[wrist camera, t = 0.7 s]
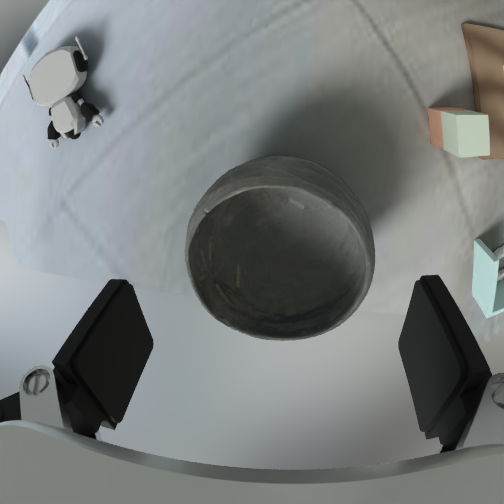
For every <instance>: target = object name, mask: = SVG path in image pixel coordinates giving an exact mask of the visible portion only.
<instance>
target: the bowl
mask: <svg viewBox="0 0 504 504" xmlns="http://www.w3.org/2000/svg"><path fill="white" fill-rule="evenodd" d="M185 261H186V266H187V270H188V275H189V278H190V282H191V285H192V287H193V289H194V291H195V294H196V296H197V297H198V299H199V301H200V302H201V304H202V305H203V306H204V308H205V309H206V310H207V311H208V312H209V313H210V314H211V315H212V316H213V317H214V318H215V319H217V320H218V321H220V322H222V323H223V324H225V325H227V326H228V327H230V328H232V329H234V330H238V331H239V332H241V333H244V334H246V335H249V336H252V337H255V338H260V339H266V340H282V341H283V340H300V339H306V338H311V337H315V336H318V335H321V334H324V333H326V332H328V331H330V330H332V329H334V328H336V327H338V326H339V325H341V324H342V323H343V322H345V321H346V320H347V319H348V318H349V317H350V316H351V315H352V314H353V313H354V312H355V311H356V310H357V309H358V307H359V306H360V304H361V303H362V301H363V300H364V298H365V296H366V294H367V292H368V290H369V288H370V285H371V282H372V278H373V273H374V267H375V248H374V240H373V234H372V229H371V226H370V222H369V220H368V217H367V215H366V213H365V211H364V209H363V207H362V205H361V204H360V202H359V200H358V199H357V198H356V196H355V195H354V194H353V192H352V191H351V190H350V189H349V187H348V186H347V185H346V184H345V183H344V182H343V181H342V180H341V179H339V178H338V177H337V176H336V175H335V174H333V173H332V172H331V171H329V170H328V169H326V168H324V167H323V166H321V165H319V164H317V163H314V162H312V161H309V160H306V159H302V158H298V157H292V156H269V157H263V158H259V159H255V160H252V161H248V162H246V163H244V164H241V165H239V166H237V167H235V168H233V169H231V170H229V171H228V172H226V173H225V174H224V175H222V176H221V177H220V178H219V179H218V180H217V181H216V182H215V183H214V184H213V185H212V186H211V187H210V188H209V189H208V190H207V192H206V193H205V194H204V196H203V197H202V198H201V200H200V201H199V202H198V204H197V205H196V207H195V209H194V212H193V214H192V216H191V218H190V221H189V225H188V229H187V237H186V245H185Z"/></svg>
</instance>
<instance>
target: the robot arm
mask: <svg viewBox="0 0 504 504" xmlns="http://www.w3.org/2000/svg"><path fill="white" fill-rule="evenodd" d="M152 349H153V338H152V336H151V333H150V331H149V328H148V326H147V323H146V321H145V318H144V315H143V313H142V310H141V307H140V305H139V302H138V300H137V297H136V294H135V291H134V288H133V286H132V285H131V284H129V282H128V281H127V280H123V279H112V280H110V281H109V282H108V283H107V284H106V286H105V287H104V288H103V289H102V291H101V292H100V293H99V295H98V296H97V298H96V299H95V300H94V302H93V303H92V304H91V306H90V307H89V308H88V310H87V311H86V313H85V314H84V316H83V317H82V318H81V320H80V321H79V323H78V324H77V325H76V327H75V328H74V330H73V331H72V333H71V334H70V335H69V337H68V339H67V340H66V341H65V343H64V344H63V346H62V347H61V349H60V350H59V352H58V353H57V355H56V356H55V358H54V360H53V361H52V363H53V365H54V366H55V368H54V370H52V369H51V368H50V367H48V366H43V365H40V366H36V367H34V368H32V369H30V370H29V371H28V372H27V373H26V374H25V375H24V376H23V378H22V380H21V382H20V391H19V392H17V393H15V394H13V395H11V396H8V397H6V398H4V399H2V400H0V504H504V373H498V374H495V375H493V376H492V373H491V371H490V368H489V366H488V364H487V362H486V359H485V357H484V355H483V353H482V351H481V349H480V348H479V345H478V343H477V341H476V339H475V337H474V335H473V333H472V331H471V330H470V328H469V326H468V324H467V322H466V320H465V319H464V317H463V315H462V313H461V311H460V310H459V308H458V306H457V304H456V303H455V301H454V299H453V297H452V296H451V294H450V292H449V291H448V289H447V287H446V286H445V284H444V283H443V281H442V279H441V278H440V276H439V275H425V276H421V278H420V280H417V281H416V282H415V285H414V289H413V293H412V297H411V301H410V304H409V308H408V312H407V315H406V319H405V322H404V325H403V329H402V332H401V335H400V338H399V351H400V355H401V358H402V362H403V365H404V368H405V372H406V376H407V379H408V383H409V387H410V391H411V394H412V398H413V402H414V406H415V410H416V415H417V419H418V424H419V427H420V430H421V431H422V432H425V436H426V439H431V438H435V437H439V440H440V444H441V445H440V447H439V449H438V451H437V453H436V454H435V455H430V456H425V457H420V458H415V459H410V460H403V461H398V462H390V463H384V464H377V465H370V466H360V467H349V468H336V469H319V470H318V469H316V470H272V469H250V468H237V467H227V466H218V465H210V464H202V463H196V462H189V461H183V460H177V459H171V458H167V457H162V456H157V455H152V454H147V453H143V452H139V451H135V450H131V449H127V448H123V447H120V446H116V445H113V444H109V443H105V442H103V441H102V439H101V436H100V433H99V427H100V425H102V426H103V427H106V428H110V429H113V430H115V428H116V426H117V423H120V422H121V421H122V419H123V417H124V414H125V412H126V410H127V407H128V405H129V402H130V400H131V398H132V395H133V393H134V390H135V388H136V386H137V383H138V381H139V379H140V376H141V374H142V372H143V369H144V367H145V365H146V362H147V360H148V358H149V356H150V353H151V351H152Z"/></svg>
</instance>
